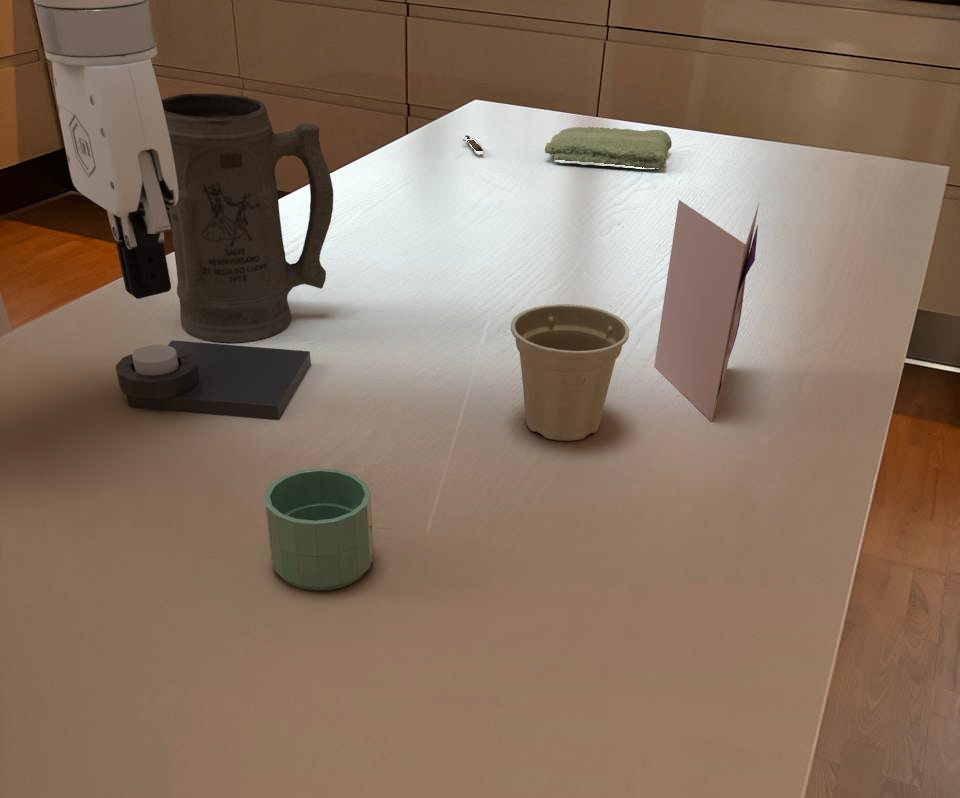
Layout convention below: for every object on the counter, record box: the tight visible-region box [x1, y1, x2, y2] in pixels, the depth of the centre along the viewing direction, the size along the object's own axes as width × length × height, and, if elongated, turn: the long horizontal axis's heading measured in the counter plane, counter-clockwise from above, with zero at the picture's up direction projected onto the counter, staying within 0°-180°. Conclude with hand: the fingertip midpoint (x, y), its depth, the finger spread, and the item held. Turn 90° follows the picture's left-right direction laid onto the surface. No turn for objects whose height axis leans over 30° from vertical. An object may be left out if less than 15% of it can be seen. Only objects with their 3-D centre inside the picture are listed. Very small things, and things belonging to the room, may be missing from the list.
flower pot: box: [510, 303, 630, 442], centre depth 84 cm, size 9×9×9 cm
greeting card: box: [653, 199, 760, 422], centre depth 88 cm, size 11×7×15 cm, turn 163°
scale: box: [115, 339, 312, 421], centre depth 89 cm, size 14×12×3 cm
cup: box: [263, 467, 374, 591], centre depth 68 cm, size 7×7×6 cm
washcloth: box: [544, 126, 673, 169], centre depth 151 cm, size 13×18×3 cm
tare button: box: [131, 344, 179, 376], centre depth 86 cm, size 4×4×1 cm
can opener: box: [462, 134, 484, 152], centre depth 153 cm, size 9×2×1 cm, turn 8°
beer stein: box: [161, 93, 334, 343], centre depth 96 cm, size 15×11×20 cm
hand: (149, 291), depth 83 cm, fingers closed
